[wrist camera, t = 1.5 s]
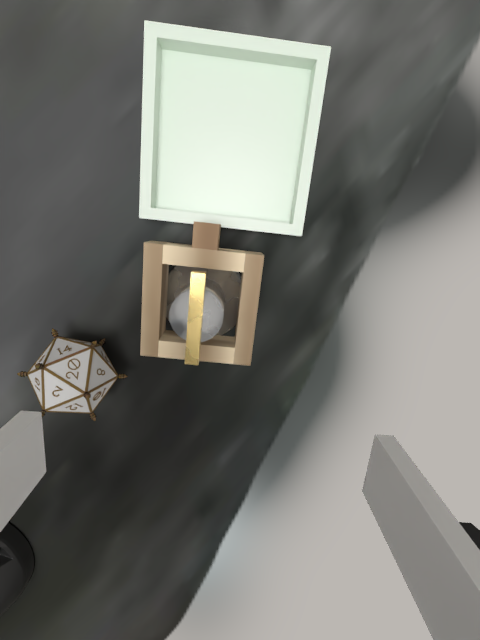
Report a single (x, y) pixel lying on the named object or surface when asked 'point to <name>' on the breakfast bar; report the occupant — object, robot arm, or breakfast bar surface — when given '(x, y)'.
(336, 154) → the breakfast bar surface
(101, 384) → the game die
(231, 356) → the tan wooden square frame
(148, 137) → the tray
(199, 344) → the grey piece
